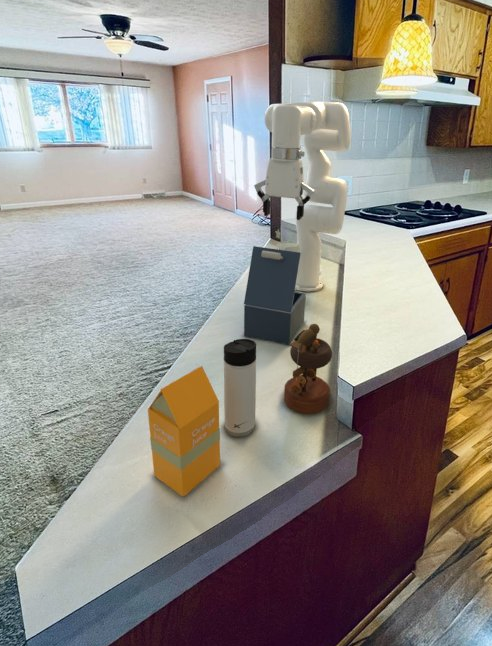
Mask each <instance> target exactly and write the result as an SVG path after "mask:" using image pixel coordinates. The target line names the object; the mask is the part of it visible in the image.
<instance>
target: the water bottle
mask: <svg viewBox="0 0 492 646" xmlns="http://www.w3.org/2000/svg"><path fill="white" fill-rule="evenodd" d="M274 232H275V234H276V236H275V238H278V239H281V238H280V237H281V236H280V235H282V232H280V229H279V228H278V229H277V230H276V231H274ZM276 249H278V250H285V251H292V252H298V251H300V247H299V245H298V243H297V241H291V240H283V241H279V242H278V243H277V245H276ZM296 290H297V289H296V287H295V292H297V291H296Z"/></svg>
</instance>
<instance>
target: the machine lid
mask: <svg viewBox="0 0 492 646" xmlns="http://www.w3.org/2000/svg"><path fill="white" fill-rule="evenodd" d="M300 256H301V253H300V252H292V251H285V250H279V248H278V249H277V248H270V247H263V246H256V245H253V246H252V253H251V257H250V263H249V269H248V275H247V283H246V288H245V295H244V301H243V305H244V306H245V305H251V306H257V307H263V308H269V309H274V310H280V311H286V312H291V311H292V305H293V299H294V293H295V287H296V281H297V274H298V268H299V262H300Z"/></svg>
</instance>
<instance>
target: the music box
mask: <svg viewBox="0 0 492 646" xmlns="http://www.w3.org/2000/svg"><path fill="white" fill-rule="evenodd" d="M320 329H321V328H320V326H319V324H317V323H311V324H310V325H309V326H308V328H307V329H306V328H305V329H302V330H301V331H300V332H299V333H297V334H296V335H295V337H294V338H293V341H291V343H290V344H289V345H288V346H289V347H290V350H289V351H290V352H289V355H290V358H291V360H292V362H294V364H296V365H297V366H296V369H294V370H293V371H292V377H291V378H290V379H288V380H287V381H286V383H285V384H284V392H283V401H284V404H285V406H286V407H288V409H289V410H291V411H293V412H295V413H297V414H302V415H315V414H318V413H321V412H323V411H324V410H325V409H327V408H328V406H329V403H330V397H331V396H330V394H331V387H330V385H329V384H328V383H327V382H326V381H325V380H324V379H322V378H321V377H319V376H317V372H318V370H319V369H321V368H324V367H326V366H327V365H328V364H329V363H330V362H331V360H332V358H333V350H332V347H331V345H330V344H329V343H328V342H327V341H326V340H323V339H321V338H318V334H319V332H320ZM317 369H318V370H317Z"/></svg>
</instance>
